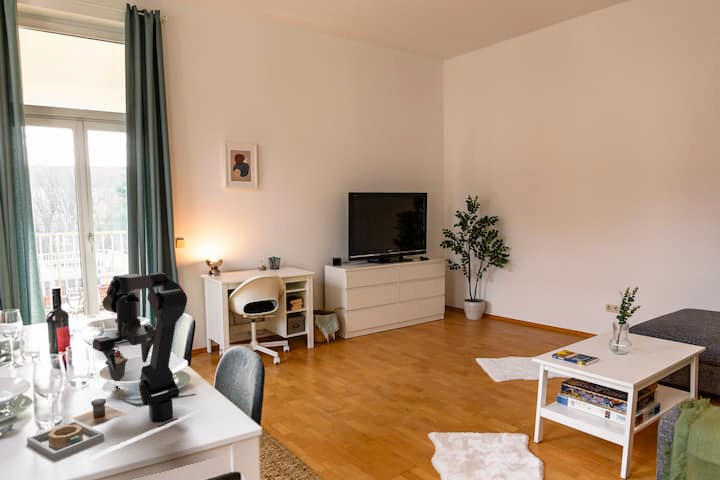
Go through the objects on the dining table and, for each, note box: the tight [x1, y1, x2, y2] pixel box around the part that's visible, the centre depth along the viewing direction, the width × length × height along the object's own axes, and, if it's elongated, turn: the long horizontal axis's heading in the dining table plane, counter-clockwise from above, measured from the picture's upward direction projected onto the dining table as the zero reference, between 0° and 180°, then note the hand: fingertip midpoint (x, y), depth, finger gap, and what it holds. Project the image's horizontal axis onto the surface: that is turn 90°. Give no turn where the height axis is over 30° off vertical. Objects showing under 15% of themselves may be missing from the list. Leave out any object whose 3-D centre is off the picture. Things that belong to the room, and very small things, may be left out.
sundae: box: [104, 346, 129, 390], centre depth 163 cm, size 7×7×15 cm
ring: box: [47, 424, 84, 450], centre depth 127 cm, size 7×9×3 cm
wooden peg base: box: [72, 398, 127, 428], centre depth 143 cm, size 10×10×5 cm
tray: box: [26, 420, 105, 461], centre depth 127 cm, size 14×12×2 cm
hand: (129, 366), depth 152 cm, fingers open, 9 cm apart
